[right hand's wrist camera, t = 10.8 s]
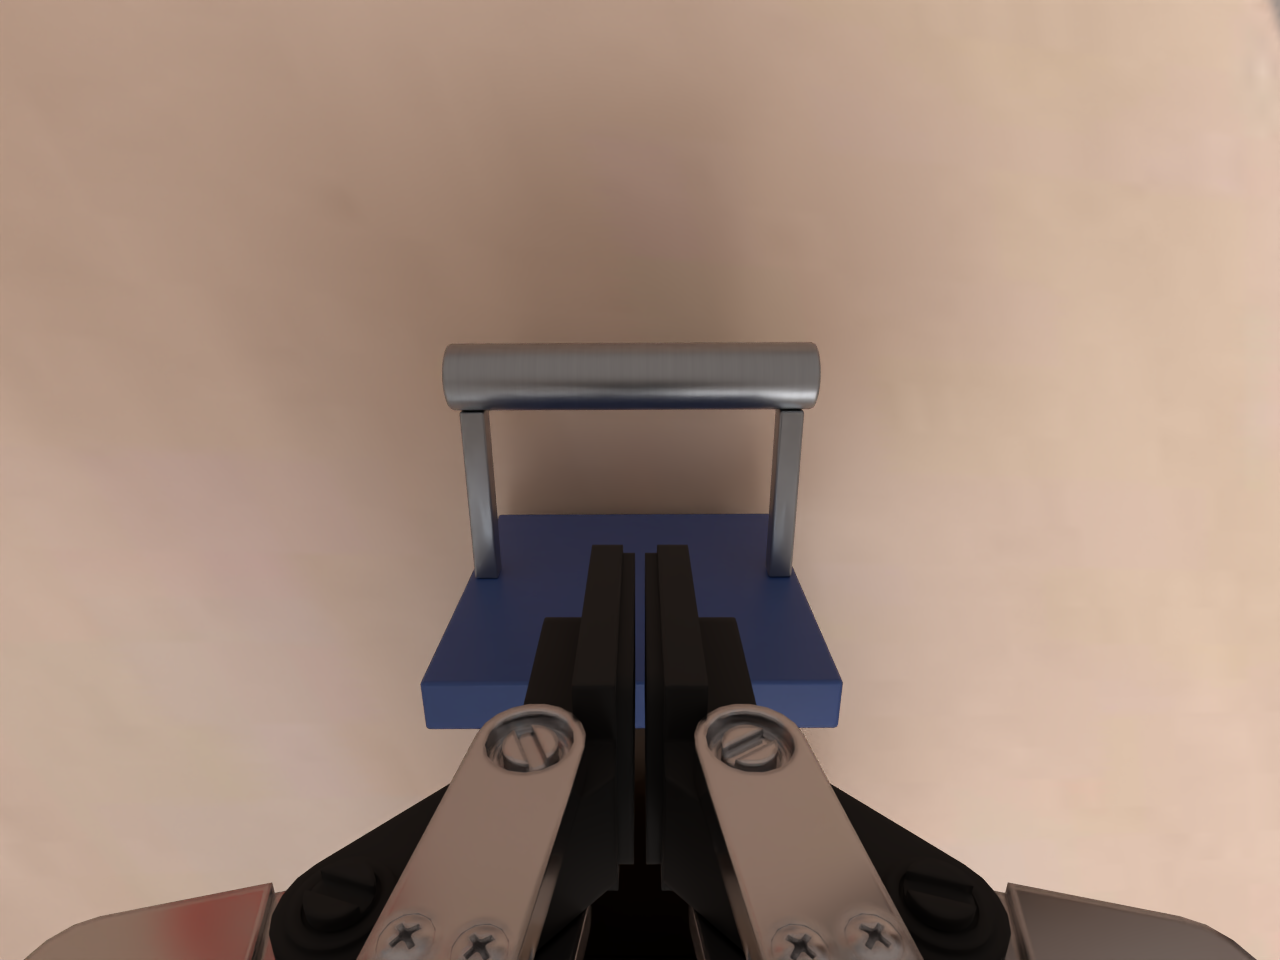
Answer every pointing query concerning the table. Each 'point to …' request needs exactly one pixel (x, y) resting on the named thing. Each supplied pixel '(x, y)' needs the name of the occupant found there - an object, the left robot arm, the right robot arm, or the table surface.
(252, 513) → the table surface
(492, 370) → the drawer
